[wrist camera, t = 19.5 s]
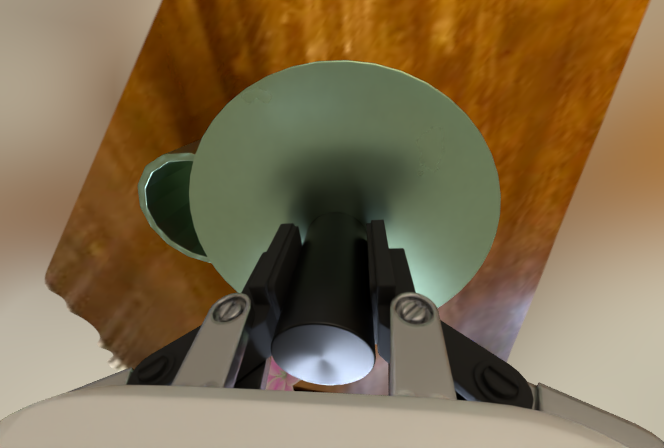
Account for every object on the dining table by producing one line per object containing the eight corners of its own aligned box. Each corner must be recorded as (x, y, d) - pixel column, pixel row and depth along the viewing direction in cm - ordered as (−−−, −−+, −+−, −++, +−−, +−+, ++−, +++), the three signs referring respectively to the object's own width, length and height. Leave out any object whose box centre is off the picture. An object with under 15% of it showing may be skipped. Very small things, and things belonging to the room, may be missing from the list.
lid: (150, 83, 10) (-152, 95, 4) (530, 37, 9) (979, -62, 2) (246, 316, 18) (187, 443, 12) (460, 317, 16) (525, 470, 10)
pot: (178, 135, 34) (113, 157, 25) (274, 128, 32) (242, 149, 23) (211, 221, 41) (170, 263, 32) (292, 219, 39) (272, 262, 30)
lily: (320, 349, 58) (301, 375, 49) (310, 392, 59) (290, 426, 50) (276, 329, 61) (251, 351, 52) (268, 371, 63) (243, 399, 54)
